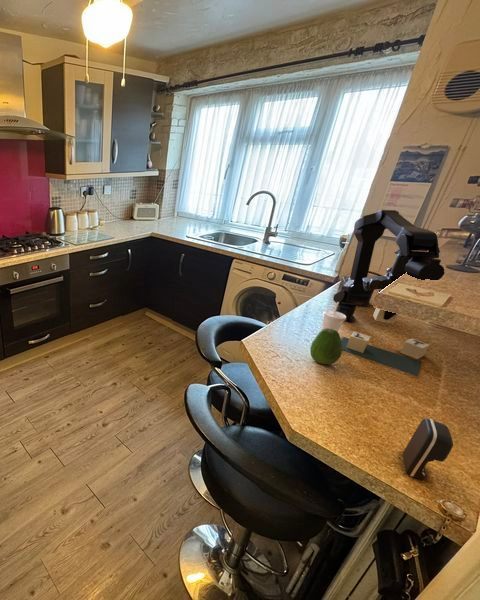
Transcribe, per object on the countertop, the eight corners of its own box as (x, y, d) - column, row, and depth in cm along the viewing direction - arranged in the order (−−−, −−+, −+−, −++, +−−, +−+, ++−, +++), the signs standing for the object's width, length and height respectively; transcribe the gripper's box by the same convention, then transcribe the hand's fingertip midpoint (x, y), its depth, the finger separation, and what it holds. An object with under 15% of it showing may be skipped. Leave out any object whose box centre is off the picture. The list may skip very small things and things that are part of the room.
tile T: (405, 349, 108) (411, 337, 106) (423, 356, 104) (429, 344, 102) (399, 353, 106) (405, 341, 104) (416, 360, 102) (423, 347, 100)
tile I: (373, 315, 108) (378, 302, 107) (390, 318, 106) (396, 305, 104) (375, 320, 105) (380, 307, 103) (393, 323, 103) (399, 310, 101)
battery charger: (430, 486, 64) (459, 445, 59) (404, 475, 66) (430, 435, 61) (425, 461, 69) (451, 422, 64) (401, 452, 71) (424, 413, 66)
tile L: (349, 342, 111) (354, 331, 109) (365, 347, 108) (370, 336, 106) (346, 347, 108) (350, 335, 106) (362, 353, 105) (368, 340, 103)
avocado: (303, 353, 106) (314, 321, 101) (331, 358, 103) (344, 326, 98) (309, 367, 99) (321, 334, 94) (340, 372, 96) (354, 339, 91)
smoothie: (330, 334, 117) (343, 299, 111) (341, 343, 111) (355, 307, 105) (311, 333, 117) (323, 298, 112) (321, 342, 112) (335, 306, 106)
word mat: (343, 337, 115) (343, 336, 114) (420, 362, 101) (421, 361, 101) (335, 349, 108) (335, 348, 108) (416, 377, 94) (417, 376, 94)
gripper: (365, 260, 110) (350, 301, 116) (375, 275, 96) (356, 321, 102) (409, 265, 104) (390, 308, 111) (426, 282, 90) (403, 331, 97)
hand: (384, 316), depth 105 cm, fingers closed on tile I, 4 cm apart
